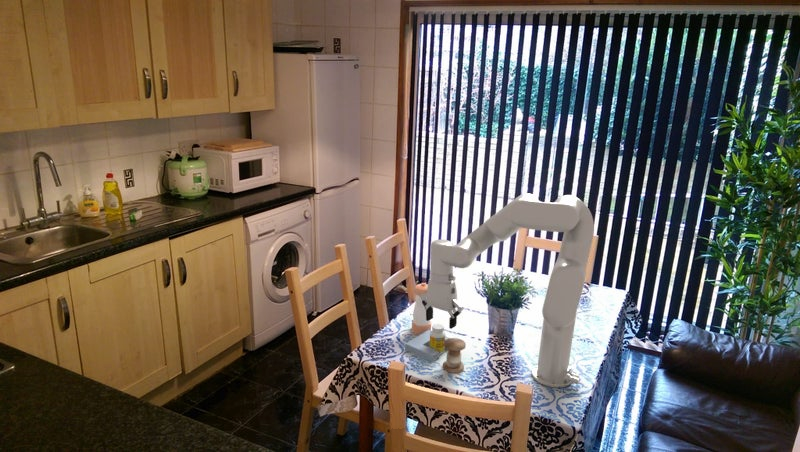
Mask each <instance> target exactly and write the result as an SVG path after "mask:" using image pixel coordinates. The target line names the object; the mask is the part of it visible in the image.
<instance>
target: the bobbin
mask: <svg viewBox="0 0 800 452" xmlns="http://www.w3.org/2000/svg"><path fill="white" fill-rule="evenodd" d="M448 338H449V339H446V340H445V341H444V346H445V347H446V348H447V349H448V350H447V349H446V350H447V351H446V360H444V362H443V363H442V370H443V371H444V372H447V373H449V374H460V373H462V372H463V371H464V370H465V368H464V367H465V365H464V364H463V362H462V352H461V351H462V350H463V351H464V350H465V349H466V345H467V344H466V341H464V340H463V339H460V338H458V337H457V338H456V337H448Z"/></svg>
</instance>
